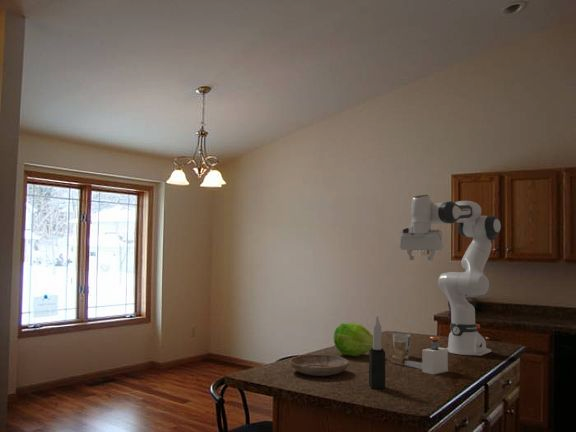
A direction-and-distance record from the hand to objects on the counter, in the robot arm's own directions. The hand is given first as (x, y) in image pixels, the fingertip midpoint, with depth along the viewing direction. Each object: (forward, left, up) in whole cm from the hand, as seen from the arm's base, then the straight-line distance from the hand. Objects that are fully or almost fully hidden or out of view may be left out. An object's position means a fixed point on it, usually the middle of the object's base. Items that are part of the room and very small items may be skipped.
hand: (420, 260), depth 235 cm
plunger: (+14, +17, -37) cm, 43 cm away
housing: (+14, +17, -45) cm, 50 cm away
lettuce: (+18, -25, -45) cm, 54 cm away
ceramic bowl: (+54, -9, -45) cm, 71 cm away
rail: (+14, +5, -45) cm, 47 cm away
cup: (+1, -11, -45) cm, 46 cm away
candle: (+52, +20, -45) cm, 71 cm away
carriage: (+14, -1, -45) cm, 47 cm away
